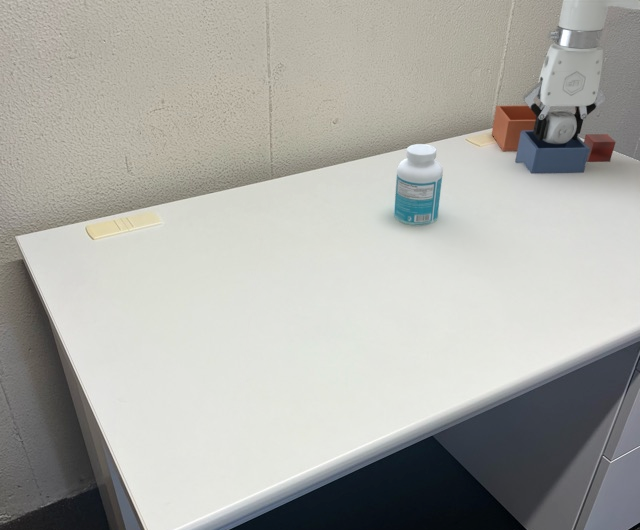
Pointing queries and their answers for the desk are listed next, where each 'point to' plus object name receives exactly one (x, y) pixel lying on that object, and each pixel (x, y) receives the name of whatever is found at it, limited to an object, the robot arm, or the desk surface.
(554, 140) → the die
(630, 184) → the desk surface
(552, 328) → the desk surface
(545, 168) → the blue bin
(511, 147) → the terracotta bin
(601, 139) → the red block
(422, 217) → the pill bottle
